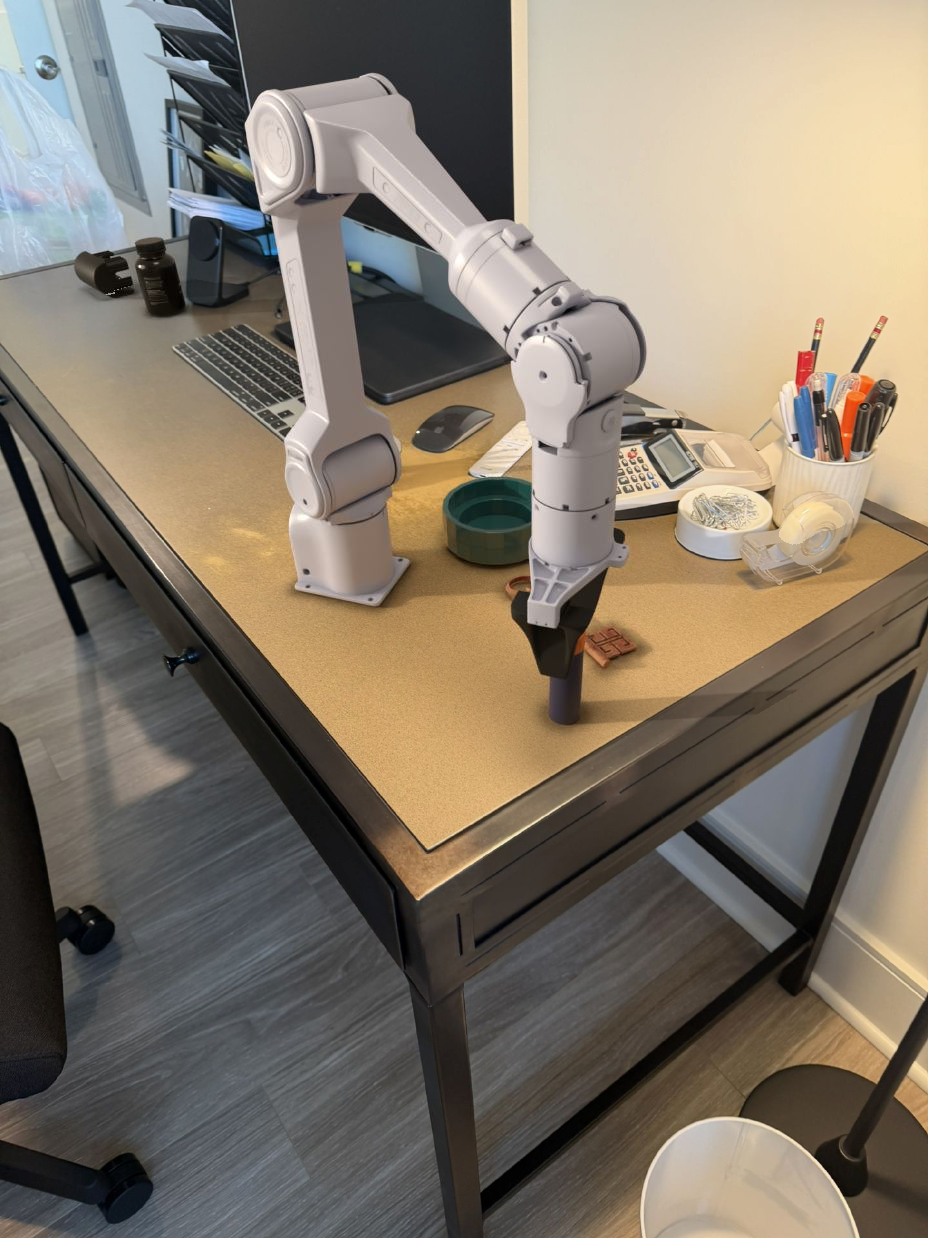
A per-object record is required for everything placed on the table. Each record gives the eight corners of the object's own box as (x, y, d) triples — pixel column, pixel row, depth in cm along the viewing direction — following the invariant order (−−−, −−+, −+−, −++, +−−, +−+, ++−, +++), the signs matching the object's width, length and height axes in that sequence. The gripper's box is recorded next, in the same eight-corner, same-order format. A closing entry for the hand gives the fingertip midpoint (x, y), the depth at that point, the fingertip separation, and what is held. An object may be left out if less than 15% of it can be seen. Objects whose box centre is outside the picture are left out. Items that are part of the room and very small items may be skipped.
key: (640, 655, 77) (547, 572, 87) (642, 647, 77) (548, 564, 87) (588, 675, 75) (498, 586, 85) (589, 666, 74) (499, 579, 84)
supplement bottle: (194, 307, 155) (177, 237, 147) (166, 319, 150) (147, 248, 143) (168, 302, 158) (150, 232, 150) (139, 313, 153) (119, 243, 146)
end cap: (80, 290, 165) (69, 254, 161) (115, 281, 169) (105, 245, 164) (100, 302, 159) (89, 265, 155) (136, 293, 163) (126, 256, 158)
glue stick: (544, 721, 71) (545, 638, 65) (553, 699, 73) (555, 617, 67) (575, 728, 70) (580, 645, 64) (584, 706, 72) (589, 623, 66)
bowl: (429, 558, 90) (426, 522, 87) (466, 504, 98) (465, 470, 95) (531, 577, 87) (531, 540, 84) (561, 520, 95) (562, 484, 92)
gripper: (606, 558, 52) (595, 717, 60) (654, 448, 62) (638, 597, 71) (495, 539, 54) (500, 695, 62) (560, 436, 64) (556, 582, 73)
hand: (567, 642), depth 67 cm, fingers open, 7 cm apart
